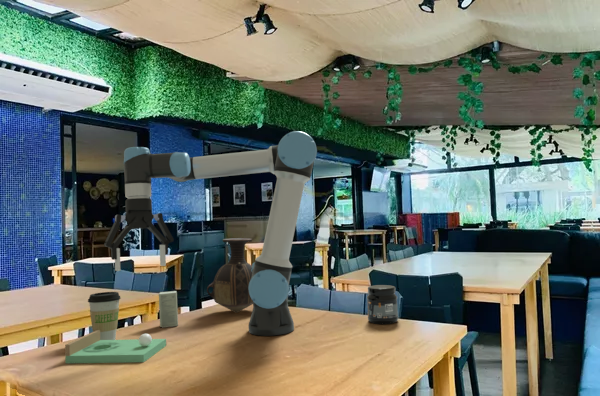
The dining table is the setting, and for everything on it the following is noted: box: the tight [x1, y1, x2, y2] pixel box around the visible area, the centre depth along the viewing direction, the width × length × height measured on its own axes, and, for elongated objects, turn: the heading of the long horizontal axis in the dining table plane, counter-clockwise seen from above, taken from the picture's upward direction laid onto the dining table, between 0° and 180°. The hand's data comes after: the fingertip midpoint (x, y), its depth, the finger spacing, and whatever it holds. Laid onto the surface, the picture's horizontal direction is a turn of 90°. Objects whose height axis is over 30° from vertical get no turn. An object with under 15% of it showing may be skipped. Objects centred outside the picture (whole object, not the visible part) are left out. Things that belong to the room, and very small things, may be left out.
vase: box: [206, 237, 253, 314], centre depth 183 cm, size 23×19×30 cm
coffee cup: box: [87, 291, 122, 340], centre depth 145 cm, size 10×10×15 cm
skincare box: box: [158, 290, 179, 328], centre depth 163 cm, size 6×4×12 cm
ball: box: [138, 333, 153, 347], centre depth 129 cm, size 4×4×4 cm
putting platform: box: [64, 330, 167, 364], centre depth 129 cm, size 22×16×5 cm
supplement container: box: [366, 284, 399, 325], centre depth 157 cm, size 10×10×12 cm
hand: (141, 268), depth 136 cm, fingers open, 13 cm apart
